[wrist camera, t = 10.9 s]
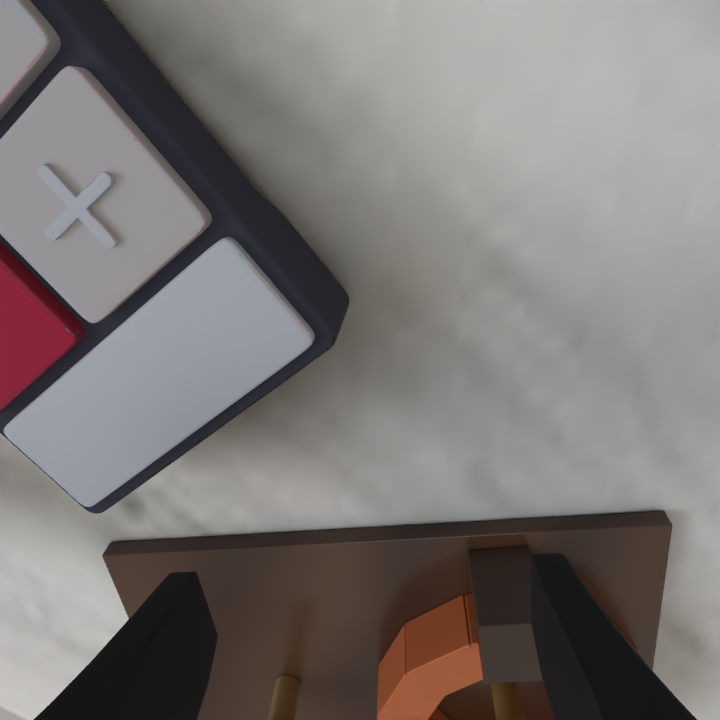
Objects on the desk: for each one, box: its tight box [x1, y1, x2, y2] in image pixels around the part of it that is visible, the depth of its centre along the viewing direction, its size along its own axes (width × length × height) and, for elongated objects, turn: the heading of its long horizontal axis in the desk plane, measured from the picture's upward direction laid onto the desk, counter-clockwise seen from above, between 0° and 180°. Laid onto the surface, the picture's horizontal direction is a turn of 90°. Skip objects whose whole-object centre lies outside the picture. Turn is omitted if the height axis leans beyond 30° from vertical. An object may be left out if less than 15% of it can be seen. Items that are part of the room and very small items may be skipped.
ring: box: [377, 546, 640, 720], centre depth 24 cm, size 11×14×4 cm
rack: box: [102, 511, 672, 720], centre depth 24 cm, size 23×15×5 cm, turn 97°
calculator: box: [0, 0, 349, 513], centre depth 17 cm, size 11×4×15 cm
